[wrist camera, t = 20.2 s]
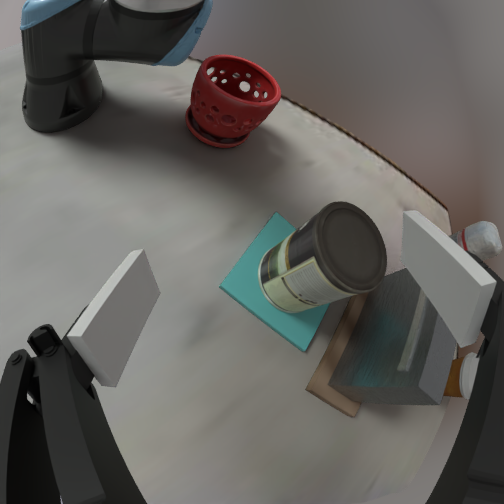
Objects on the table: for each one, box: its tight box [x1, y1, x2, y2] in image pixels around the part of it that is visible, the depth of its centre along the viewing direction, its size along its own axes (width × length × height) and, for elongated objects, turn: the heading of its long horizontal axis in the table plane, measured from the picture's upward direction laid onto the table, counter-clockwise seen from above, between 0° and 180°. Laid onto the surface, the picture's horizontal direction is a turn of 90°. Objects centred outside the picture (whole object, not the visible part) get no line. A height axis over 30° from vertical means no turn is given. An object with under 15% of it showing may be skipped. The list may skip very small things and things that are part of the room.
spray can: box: [449, 221, 502, 261], centre depth 51 cm, size 8×8×20 cm
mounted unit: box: [305, 268, 457, 417], centre depth 36 cm, size 24×10×18 cm, turn 145°
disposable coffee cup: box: [443, 353, 480, 399], centre depth 43 cm, size 10×10×12 cm
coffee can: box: [258, 202, 387, 313], centre depth 35 cm, size 10×10×14 cm
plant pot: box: [185, 55, 281, 148], centre depth 42 cm, size 13×13×12 cm
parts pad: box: [219, 212, 330, 351], centre depth 42 cm, size 15×15×1 cm
